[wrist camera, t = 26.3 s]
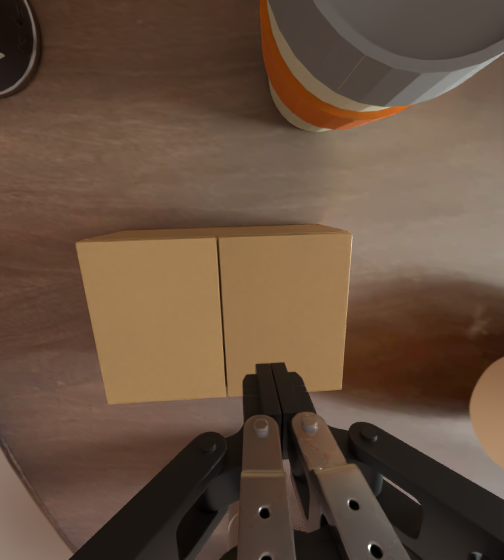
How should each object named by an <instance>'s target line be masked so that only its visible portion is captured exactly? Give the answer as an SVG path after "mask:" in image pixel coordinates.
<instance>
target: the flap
mask: <svg viewBox="0 0 504 560" xmlns="http://www.w3.org/2000/svg"><path fill="white" fill-rule="evenodd" d="M218 241H219V257H220V274H221V290H222V307H223V323H224V339H225V356H226V372H227V389H228V397H233V396H243V388H242V381H243V379H244V377H245V375H246V374H255V364H260V363H277V362H285V365H286V368H287V371H288V372H296V373H298V374H299V375H300V376H301V377H302V379H303V381H304V384H305V386H306V389H307V392H312V391H327V390H341V386H342V372H343V358H344V344H345V330H346V316H347V302H348V288H349V274H350V260H351V246H352V233H351V232H345V233H316V234H287V235H257V236H228V237H219V238H218Z"/></svg>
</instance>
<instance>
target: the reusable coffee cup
mask: <svg viewBox="0 0 504 560" xmlns="http://www.w3.org/2000/svg"><path fill="white" fill-rule="evenodd" d="M259 3H260V23H261V41H262V54H263V59H264V64H265V68H266V72H267V75H268V82H269V87H270V92H271V96H272V98H273V101H274V103H275V105H276V107H277V108H278V110H279V111H280V113H281V114H282V115H283V116H284V117H285V118H286V120H287V121H288V122H290V123H291V124H293V125H294V126H296V127H298V128H300V129H303V130H305V131H311V132H325V131H328V130H337V129H349V128H353V127H356V126H360V125H363V124H366V123H369V122H372V121H375V120H378V119H381V118H384V117H387V116H390V115H393V114H396V113H398V112H400V111H402V110H404V109H406V108H408V107H410V106H412V105H414V104H416V103H420V102H423V101H427V100H430V99H434V98H436V97H437V96H439V95H441V94H443V93H445V92H447V91H449V90H451V89H453V88H455V87H457V86H458V85H460V84H461V83H463V82H464V81H465V80H467V79H468V78H470V77H471V76H472V75H474V74H475V73H477V72H478V71H480V70H481V69H482V68H484V67H485V66H487V65H488V64H490V63H491V62H492V61H494V60H495V59H497V58H498V57H499V56H501V55H502V54H504V0H259Z"/></svg>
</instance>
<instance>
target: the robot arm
mask: <svg viewBox="0 0 504 560" xmlns="http://www.w3.org/2000/svg"><path fill="white" fill-rule="evenodd" d="M40 57H41V34H40V28H39V24H38V21H37V18H36V15H35V12H34V10H33V7H32V5H31V3H30V1H29V0H0V99H1V98H6V97H9V96H12V95H14V94H16V93H18V92H19V91H21V90H22V89H23V88H25V87H26V86H27V85H28V84H29V82H30V81H31V80H32V78H33V77H34V75H35V73H36V71H37V68H38V65H39V61H40ZM242 388H243V415H244V425H243V427H242V428H241V430H240V431H239V432H238V433H236V434H235V435H233V436H230V437H228V438H224V437H223V436H222V435H220V434H218V433H215V432H206V433H203V434H200V435H199V436H197V437H196V438H195V439H193V440H192V441H191V442H190V443H189V444H188V445H187V446H186V447H185V448H184V449H183V450H182V451H181V452H180V453H179V454H178V455H177V456H176V457H175V458H174V459H173V460H172V461H171V462H170V463H169V464H167V465H166V466H165V467H164V468H163V469H162V470H161V471H160V472H159V473H158V474H157V475H156V476H155V477H154V478H153V479H152V480H151V481H150V482H149V483H148V484H147V485H146V486H145V487H144V488H143V489H141V490H140V491H139V492H138V493H137V494H136V495H135V496H134V497H133V498H132V499H131V500H130V501H129V502H128V503H127V504H126V505H125V506H124V507H123V508H122V509H121V510H120V511H119V512H118V513H117V514H115V515H114V516H113V517H112V518H111V519H110V520H109V521H108V522H107V523H106V524H105V525H104V526H103V527H102V528H101V529H100V530H99V531H98V532H97V533H96V534H95V535H94V536H93V537H92V538H91V539H89V540H88V541H87V542H86V543H85V544H84V545H83V546H82V547H81V548H80V549H79V550H78V551H77V552H76V553H75V554H74V555H73V556H72V557H71V558H70V559H69V560H194V559H195V558H196V556H197V555H198V553H199V552H200V550H201V549H202V547H203V546H204V544H205V543H206V542H207V540H208V539H209V537H210V536H211V534H212V533H213V531H214V530H215V529H216V527H217V526H218V524H219V523H220V521H221V520H222V518H223V517H224V515H225V514H226V512H227V511H228V508H229V505H231V504H233V503H235V502H237V501H239V500H240V501H239V524H238V545H236V546H235V547H233V548H231V549H230V550H229V551H228V552H226V553H225V554H224V555H223V556H222V557H221V558H220V559H219V560H504V500H503V499H501V498H500V497H498V496H496V495H495V494H493V493H491V492H489V491H488V490H486V489H484V488H482V487H481V486H479V485H477V484H475V483H474V482H472V481H470V480H469V479H467V478H465V477H463V476H462V475H460V474H458V473H456V472H455V471H453V470H451V469H449V468H448V467H446V466H444V465H443V464H441V463H439V462H437V461H436V460H434V459H432V458H430V457H429V456H427V455H425V454H423V453H422V452H420V451H418V450H417V449H415V448H413V447H411V446H410V445H408V444H406V443H404V442H403V441H401V440H399V439H397V438H396V437H394V436H392V435H391V434H389V433H387V432H385V431H384V430H382V429H380V428H378V427H377V426H375V425H373V424H370V423H367V422H357V423H354V424H352V425H351V426H350V428H349V431H347V430H342V429H337V428H333V427H331V426H329V425H327V424H326V422H325V421H324V419H323V418H322V417H321V416H319V415H317V413H316V411H315V408H314V406H313V403H312V401H311V398H310V396H309V394H308V392H307V389H306V386H305V384H304V381H303V379H302V377H301V376H300V375H299V374H298V373H296V372H288V371H287V368H286V365H285V362H277V363H260V364H255V374H246V375H245V377H244V379H243V381H242ZM284 459H289V462H290V466H291V468H290V477H291V482H292V485H293V488H294V492H295V495H296V499H297V502H298V505H299V509H300V512H301V516H302V519H303V523H304V526H305V530H306V532H302V531H297V530H293V528H292V520H291V512H290V504H289V496H288V487H287V479H286V473H285V472H284V470H283V462H282V460H284ZM383 476H385V477H386V478H387V479H389V480H390V481H392V482H393V483H395V484H396V485H398V486H399V487H400V488H402V489H403V490H405V491H406V492H408V493H409V494H410V495H412V496H413V497H415V498H416V499H417V500H418V502H419V503H420V504H421V505H419V504H418V503H416V502H415V501H414V500H412V499H411V498H409V497H408V496H407V495H405V494H404V493H402V492H401V491H399V490H398V489H397V488H395V487H394V486H392V485H391V484H389V483H388V482H387V481H385V480H384V479H383Z"/></svg>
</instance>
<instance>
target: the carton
mask: <svg viewBox="0 0 504 560" xmlns="http://www.w3.org/2000/svg"><path fill="white" fill-rule="evenodd" d="M345 232H349V231H346V230H342V229H337V228H333V227H329V226H324V225H320V224H309V225H278V226H247V227H216V228H186V229H155V230H124V231H119V232H115V233H110V234H106V235H101V236H97V237H92V238H88V239H83V240H81V242H75V245H76V250H77V255H78V260H79V265H80V270H81V274H82V279H83V284H84V289H85V294H86V299H87V304H88V309H89V314H90V319H91V324H92V329H93V334H94V339H95V343H96V348H97V353H98V358H99V363H100V368H101V373H102V378H103V383H104V388H105V393H106V398H107V403H108V404H121V403H137V402H153V401H169V400H185V399H200V398H216V397H226V391H228V389H227V372H226V356H225V339H224V323H223V307H222V290H221V274H220V257H219V241H218V238H219V237H228V236H257V235H287V234H316V233H345Z"/></svg>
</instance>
